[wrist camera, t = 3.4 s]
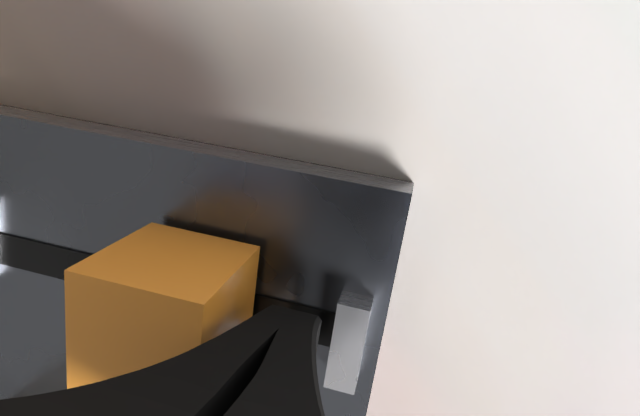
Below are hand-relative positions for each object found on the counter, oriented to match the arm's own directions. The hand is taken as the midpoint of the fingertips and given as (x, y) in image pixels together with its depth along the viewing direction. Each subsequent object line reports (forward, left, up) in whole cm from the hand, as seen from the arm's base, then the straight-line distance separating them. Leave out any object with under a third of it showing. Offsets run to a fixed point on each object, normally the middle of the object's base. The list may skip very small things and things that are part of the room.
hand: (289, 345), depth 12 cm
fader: (0, +3, -1) cm, 3 cm away
